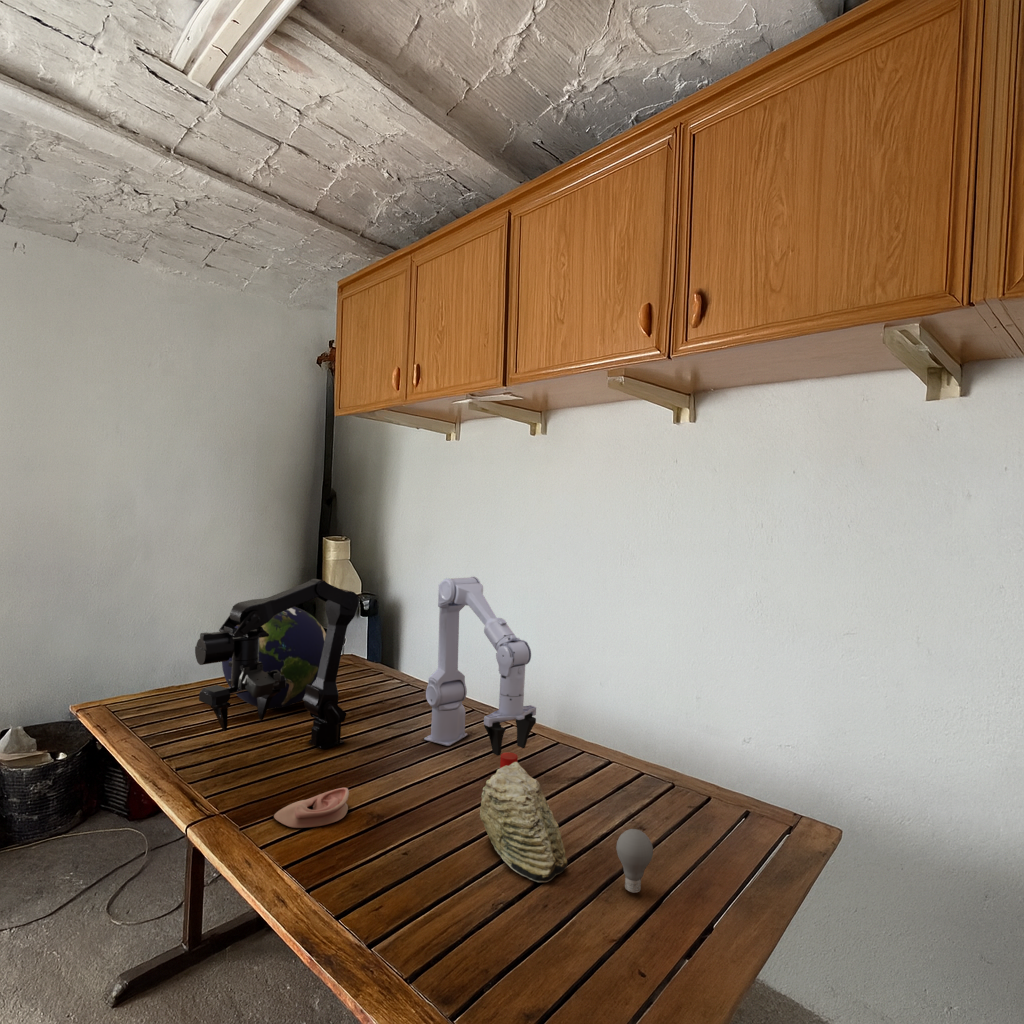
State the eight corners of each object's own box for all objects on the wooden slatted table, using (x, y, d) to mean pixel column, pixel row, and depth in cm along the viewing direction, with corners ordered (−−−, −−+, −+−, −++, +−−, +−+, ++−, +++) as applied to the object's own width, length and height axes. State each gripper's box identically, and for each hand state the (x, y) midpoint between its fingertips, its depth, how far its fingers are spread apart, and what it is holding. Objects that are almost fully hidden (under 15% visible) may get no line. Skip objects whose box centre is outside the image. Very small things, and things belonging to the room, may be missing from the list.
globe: (289, 685, 209) (292, 594, 208) (348, 705, 191) (352, 606, 191) (199, 706, 185) (203, 604, 184) (258, 732, 167) (262, 619, 167)
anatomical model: (265, 803, 122) (297, 778, 133) (264, 823, 122) (296, 796, 133) (329, 813, 119) (356, 786, 130) (328, 833, 119) (355, 805, 130)
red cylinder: (519, 772, 150) (520, 754, 150) (513, 779, 146) (514, 760, 146) (503, 769, 151) (504, 751, 151) (497, 776, 147) (497, 757, 147)
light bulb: (610, 879, 108) (613, 822, 108) (644, 879, 109) (647, 822, 109) (619, 902, 102) (622, 840, 102) (655, 901, 103) (658, 840, 103)
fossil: (501, 827, 124) (504, 751, 124) (575, 868, 111) (578, 784, 111) (467, 843, 118) (470, 763, 118) (541, 889, 105) (545, 799, 105)
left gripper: (227, 672, 133) (225, 745, 134) (301, 656, 149) (299, 722, 149) (198, 662, 140) (196, 733, 140) (272, 648, 155) (270, 711, 155)
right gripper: (498, 703, 141) (495, 763, 141) (545, 692, 150) (543, 749, 150) (479, 694, 146) (476, 752, 146) (526, 684, 155) (523, 739, 156)
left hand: (243, 725), depth 146 cm, fingers open, 9 cm apart
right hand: (508, 750), depth 149 cm, fingers open, 7 cm apart
